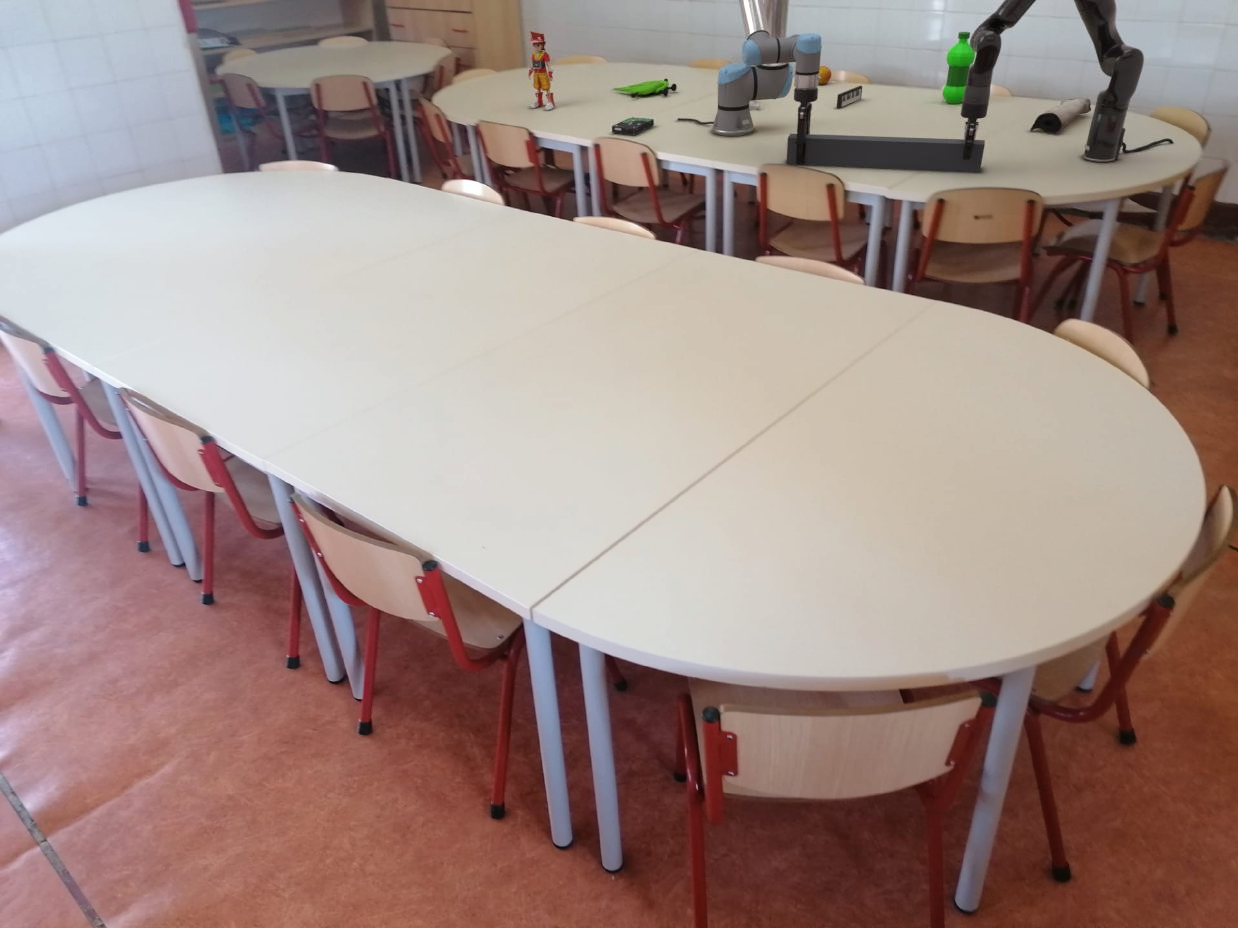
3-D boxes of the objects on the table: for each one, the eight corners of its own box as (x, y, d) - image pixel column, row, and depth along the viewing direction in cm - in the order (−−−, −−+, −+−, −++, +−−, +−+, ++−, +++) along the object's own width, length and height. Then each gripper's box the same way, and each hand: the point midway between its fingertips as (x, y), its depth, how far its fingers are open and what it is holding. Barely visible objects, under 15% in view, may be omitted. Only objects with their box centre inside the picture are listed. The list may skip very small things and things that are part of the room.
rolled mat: (1058, 102, 333) (1083, 85, 325) (1072, 123, 334) (1096, 106, 326) (1026, 124, 316) (1051, 107, 308) (1040, 146, 317) (1066, 129, 308)
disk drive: (634, 136, 338) (654, 126, 348) (634, 128, 336) (654, 118, 346) (611, 133, 343) (631, 123, 353) (611, 126, 341) (631, 116, 351)
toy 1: (525, 109, 381) (517, 32, 364) (534, 104, 388) (527, 28, 371) (550, 110, 377) (543, 32, 360) (559, 105, 384) (553, 28, 367)
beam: (786, 164, 300) (787, 137, 295) (788, 159, 304) (790, 133, 299) (979, 172, 282) (984, 144, 277) (979, 168, 286) (984, 140, 281)
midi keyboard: (839, 108, 356) (840, 95, 353) (836, 108, 357) (837, 94, 354) (861, 99, 366) (862, 86, 363) (858, 98, 367) (859, 85, 364)
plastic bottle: (973, 101, 354) (984, 32, 339) (955, 106, 349) (966, 36, 335) (952, 97, 361) (962, 29, 346) (934, 102, 356) (944, 33, 342)
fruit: (806, 77, 389) (817, 59, 386) (809, 80, 396) (820, 63, 393) (821, 87, 387) (833, 70, 384) (824, 90, 395) (835, 74, 392)
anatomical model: (727, 81, 368) (751, 74, 367) (732, 106, 373) (755, 100, 373) (734, 89, 355) (759, 82, 354) (738, 116, 361) (763, 109, 360)
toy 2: (686, 85, 398) (631, 84, 414) (685, 72, 395) (629, 72, 411) (651, 104, 381) (596, 103, 397) (650, 92, 378) (594, 91, 394)
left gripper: (813, 94, 279) (808, 169, 292) (822, 81, 293) (816, 153, 306) (789, 94, 281) (785, 168, 294) (799, 81, 295) (794, 152, 308)
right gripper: (988, 106, 267) (978, 164, 277) (988, 95, 278) (979, 150, 288) (962, 105, 269) (953, 163, 279) (963, 94, 280) (954, 150, 290)
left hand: (801, 160), depth 300 cm, fingers closed on beam, 5 cm apart
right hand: (966, 156), depth 283 cm, fingers closed on beam, 5 cm apart
